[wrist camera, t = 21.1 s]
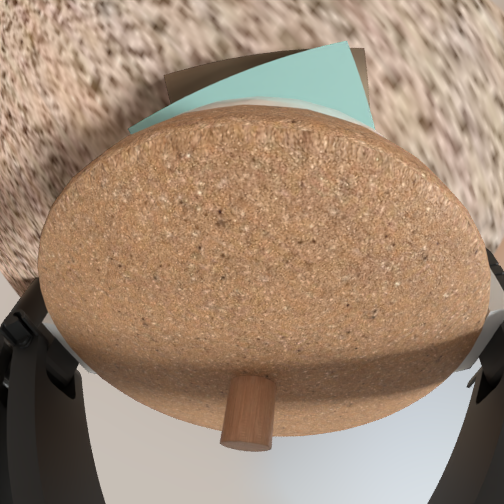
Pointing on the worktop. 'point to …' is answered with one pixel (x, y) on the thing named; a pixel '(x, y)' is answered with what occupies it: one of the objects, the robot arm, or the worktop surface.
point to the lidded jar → (264, 271)
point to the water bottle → (31, 307)
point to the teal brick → (287, 85)
